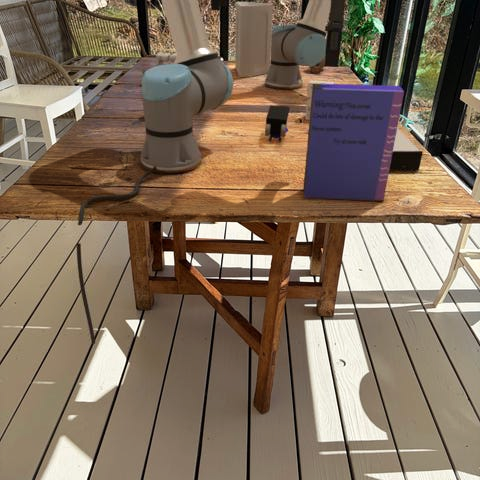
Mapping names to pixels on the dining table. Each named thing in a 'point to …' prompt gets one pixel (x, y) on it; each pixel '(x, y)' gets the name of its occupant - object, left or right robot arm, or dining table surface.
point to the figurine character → (276, 122)
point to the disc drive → (405, 154)
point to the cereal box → (351, 141)
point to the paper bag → (253, 38)
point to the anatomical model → (318, 66)
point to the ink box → (309, 96)
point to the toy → (165, 58)
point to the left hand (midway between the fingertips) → (331, 60)
